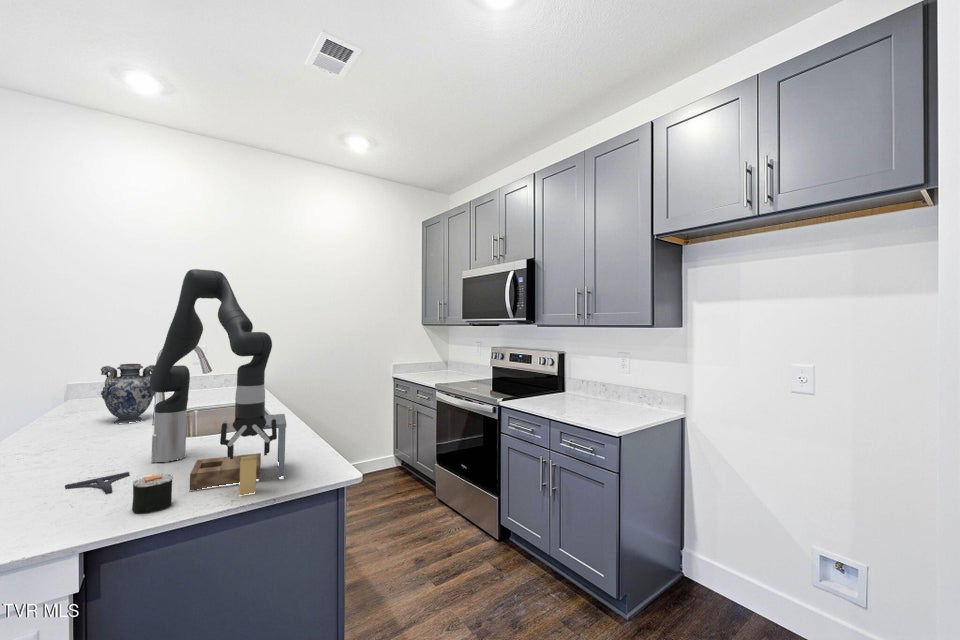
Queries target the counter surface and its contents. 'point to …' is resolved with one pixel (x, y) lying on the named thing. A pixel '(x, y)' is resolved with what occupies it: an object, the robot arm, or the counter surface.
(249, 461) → the peg
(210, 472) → the socket block
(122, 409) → the decorative vase
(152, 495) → the sushi
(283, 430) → the panel
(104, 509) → the counter surface
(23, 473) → the counter surface
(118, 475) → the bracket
